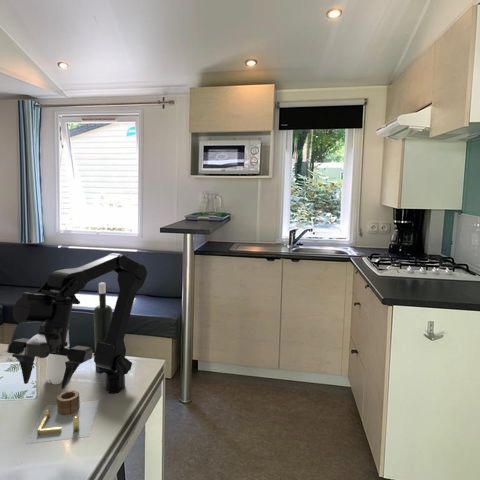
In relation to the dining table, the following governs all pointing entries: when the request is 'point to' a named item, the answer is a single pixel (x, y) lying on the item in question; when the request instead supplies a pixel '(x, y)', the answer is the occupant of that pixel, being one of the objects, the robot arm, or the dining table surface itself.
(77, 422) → the end peg
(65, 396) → the walnut ring
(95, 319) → the wine bottle
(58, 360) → the water bottle
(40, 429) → the bent rail
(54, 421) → the slate board
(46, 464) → the dining table surface
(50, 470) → the dining table surface
